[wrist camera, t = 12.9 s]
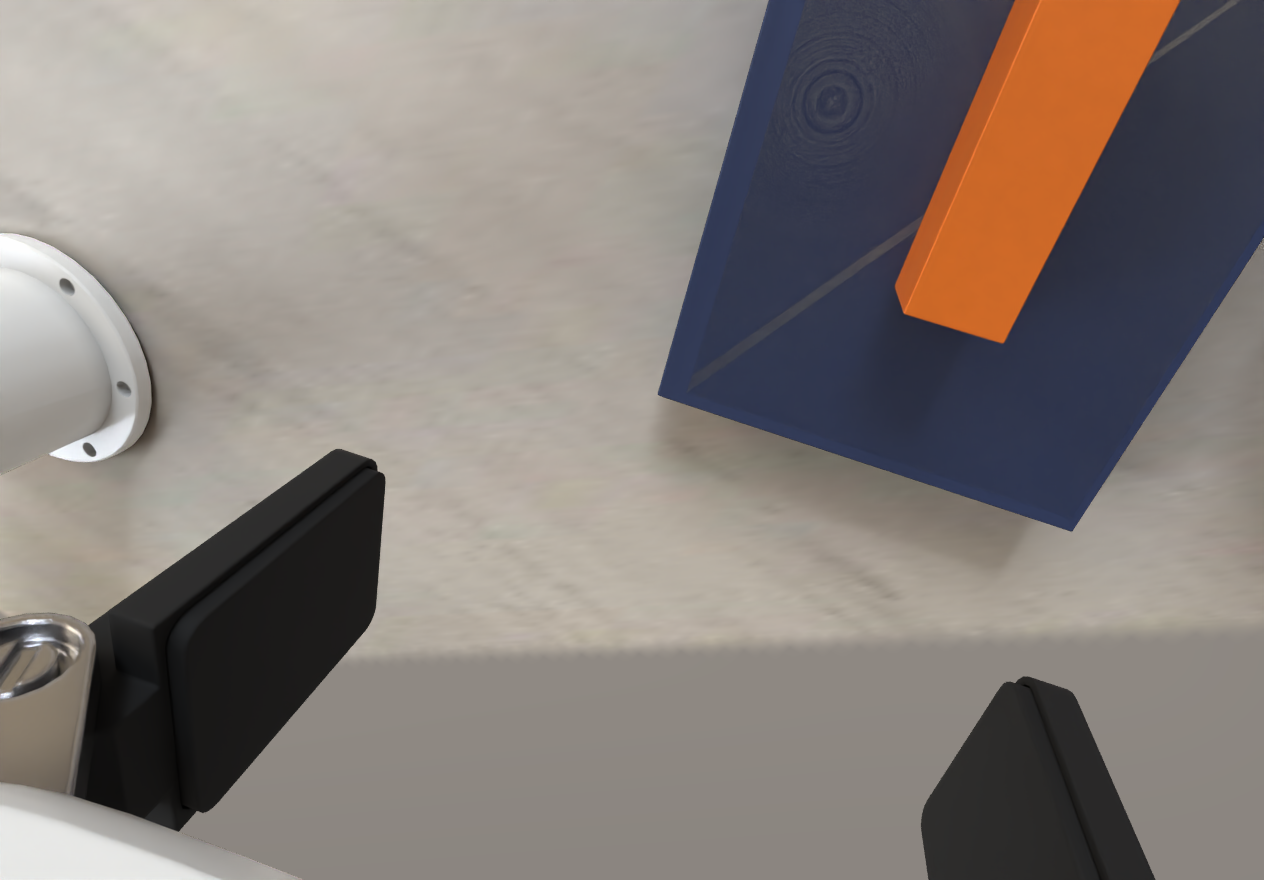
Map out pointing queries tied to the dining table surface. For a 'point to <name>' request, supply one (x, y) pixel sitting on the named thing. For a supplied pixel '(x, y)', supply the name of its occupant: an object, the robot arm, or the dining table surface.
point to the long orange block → (1025, 157)
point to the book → (890, 218)
